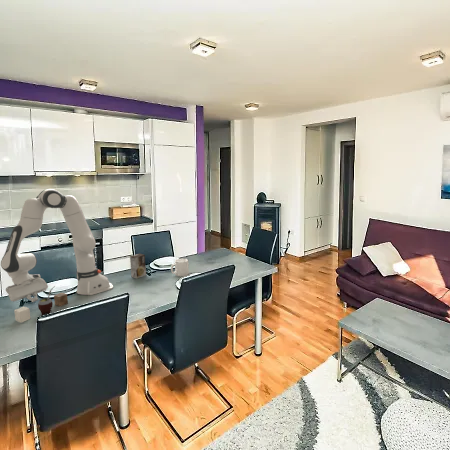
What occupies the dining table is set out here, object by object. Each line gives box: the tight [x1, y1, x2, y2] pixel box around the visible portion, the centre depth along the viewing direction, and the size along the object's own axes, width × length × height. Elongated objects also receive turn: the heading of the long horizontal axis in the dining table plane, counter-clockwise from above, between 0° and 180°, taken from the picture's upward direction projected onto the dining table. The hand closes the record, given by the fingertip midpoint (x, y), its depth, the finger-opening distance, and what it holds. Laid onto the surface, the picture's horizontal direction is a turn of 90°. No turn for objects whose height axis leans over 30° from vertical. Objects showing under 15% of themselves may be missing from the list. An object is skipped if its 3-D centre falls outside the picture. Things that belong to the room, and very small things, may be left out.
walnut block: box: [53, 292, 69, 307], centre depth 189 cm, size 5×5×6 cm
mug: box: [170, 258, 190, 277], centre depth 238 cm, size 14×10×11 cm
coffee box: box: [129, 253, 147, 279], centre depth 235 cm, size 9×6×16 cm
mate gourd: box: [37, 285, 56, 317], centre depth 176 cm, size 8×8×15 cm
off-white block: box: [14, 306, 31, 323], centre depth 170 cm, size 5×5×6 cm
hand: (35, 300), depth 182 cm, fingers closed
